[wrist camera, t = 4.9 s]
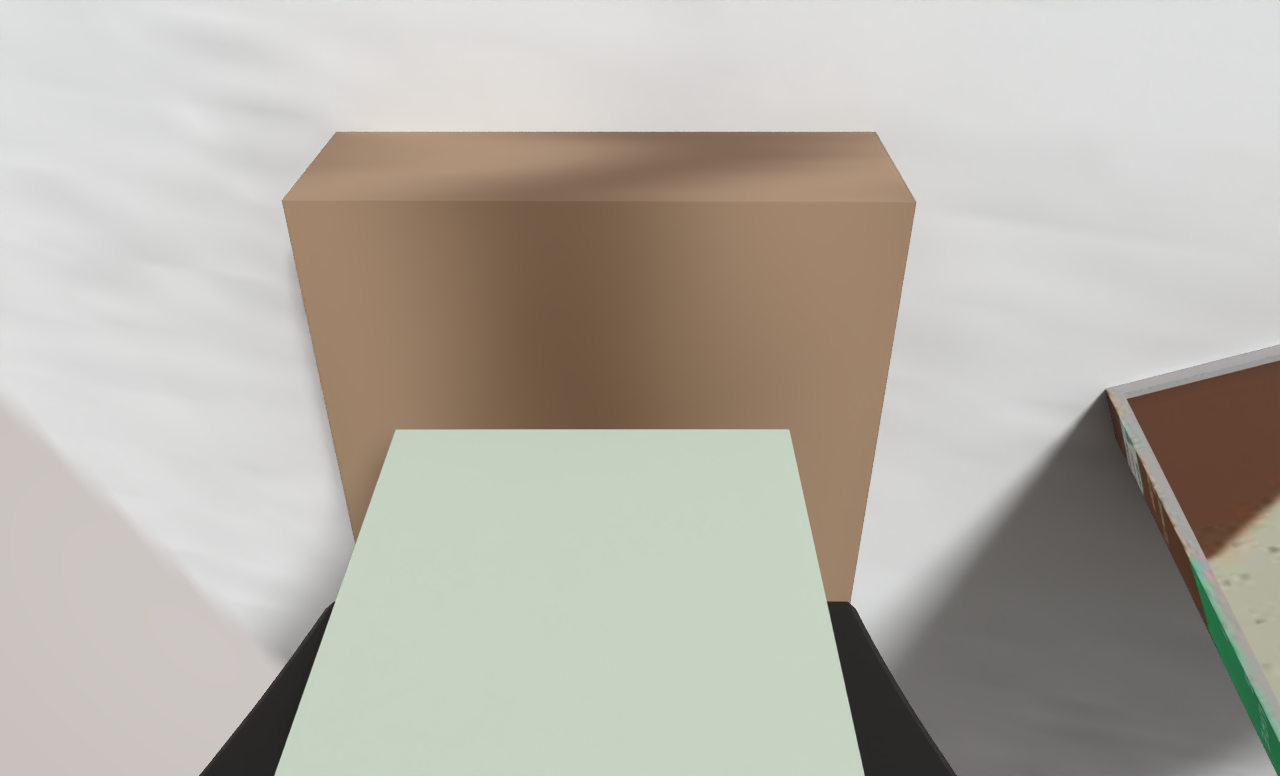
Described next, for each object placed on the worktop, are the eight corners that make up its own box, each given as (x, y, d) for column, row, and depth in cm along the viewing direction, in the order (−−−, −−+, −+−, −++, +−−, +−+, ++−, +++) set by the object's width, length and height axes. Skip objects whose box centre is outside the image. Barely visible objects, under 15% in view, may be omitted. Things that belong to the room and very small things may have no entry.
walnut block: (870, 123, 15) (915, 202, 12) (818, 524, 19) (843, 642, 17) (343, 123, 15) (282, 200, 12) (411, 523, 19) (375, 639, 17)
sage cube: (789, 429, 11) (864, 776, 7) (761, 690, 14) (808, 1048, 10) (395, 429, 11) (274, 776, 7) (439, 691, 14) (365, 1048, 10)
